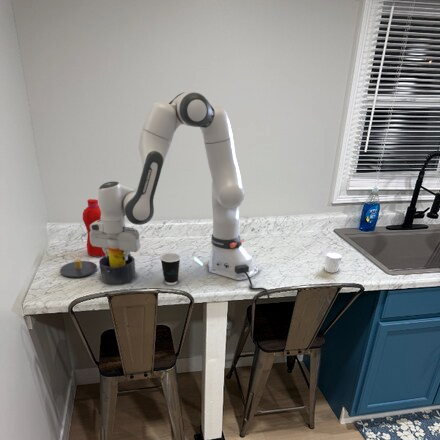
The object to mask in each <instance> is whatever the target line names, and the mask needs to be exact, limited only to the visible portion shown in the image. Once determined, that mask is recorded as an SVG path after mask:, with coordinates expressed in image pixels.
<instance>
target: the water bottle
mask: <svg viewBox="0 0 440 440" xmlns="http://www.w3.org/2000/svg"><path fill="white" fill-rule="evenodd" d="M86 201H87V207H85V209H83V212H82V221H83V224H84V225H85V229H86V231H87V236H86V237H87V238H86V252H87V255H89V256H91V257H101V258H103V257H105V256H106V254H105V253H104V251H103V250H102V247H96V246H92V245H91V243H90V231H91V229H90V225H91V224H92V223H93V222H95V221H97V220H100V219H101V211H100V208H99V200H98V199H94V198H89V199H87V200H86ZM107 249H108V248H107Z"/></svg>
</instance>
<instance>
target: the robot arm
mask: <svg viewBox="0 0 440 440" xmlns="http://www.w3.org/2000/svg"><path fill="white" fill-rule="evenodd" d="M181 125H185V126H189V127H193V128H199V129H200V130H201V134H202V138H203V143H204V148H205V153H206V158H207V165H208V169H209V171H210V175H211V180H212V181H211V204H212V207H211V208H212V234H211V239H210V240H211V241H210V243H211V251H210V256H209V257H210V258H209V261H208V265H207V267H208V272H209V273H212V274H216V275H218V276H221V277H225V278H229V279H232V280H236V281H243V280H244V281H245V280H247V279H248V282H249V289H250V290H253V291H257V290H263V291H265V292H266V297H267V300H268V301H271V297H270V292H269V293H267V291H266V290H268V289H267V288H265V287H253V283H252V280H251V278H252V277H254V276H255V275H257V274H258V273H259V267H257V266H256V265H254V258H253V256H252V255H251V254H250V253H249V252H248V251H247V250H246V248H245V247H244V246H243V244H242V243H244V239H241V236H240V235H239V234H240V221H241V220H240V218H241V217H240V206H241V205H242V204H243V202H244V200H245V191H244V184H243V181H242V176H241V171H240V168H239V167H240V166H239V163H238V159H237V153H236V147H235V140H234V134H233V130H232V125H231V122H230V118H229V115H228V113H227V111H226V110H225V109H224V108H222V107H220V106H213V105H211V103H210V102H209V100H208V99H207V98H206V97H205V96H204V95H203V94H201V93H199V92H196V91H185V92H181V93H179V94H177V95H176V96H175V97H174V98H173V99H172V100H171V101H170V102H166V101H157V102H155V103H153V105H152V106H151V108H150V109H149V111H148V113H147V115H146V118H145V120H144V123H143V126H142V128H141V132H140V136H139V141H138V150H139V155H140V159H141V173H140V176H139V181H138V184H137V188H133V187H132V188H131V187H128V186H125V185H123V184H121V183H120V182H118V181H107V182H105V183H102V184H101V185H100V186H99V188H98V191H97V192H98V193H97V196H98V197H97V198H98V199H97V200H98V206H99V208H100V211H101V219H100V220H97V221H95V222H93V223H92V224H91V225H90V229H91V231H90V243H91V245H92V246H96V247H102V250H103V251H104V253H105V254H106V255H105V256H106V258H109V253H108V249H107V248H108V244H107V241H108V239H109V240H110V239H111V240H118V243H119V250H123V251H124V254H125V253H126V254H125V255H124V256H122V258H123V260H126V261H127V260H128V254H129V253H137V252H139V250H140V249H141V240H140V233H139V231H138V230H137V229H136V228H134V227H128V226H126V219H127V220H128V221H129V222H130V223H131V224H134V225H138V226H142V225H146V224H148V223H149V222H150V221H151V220H152V219H153V217H154V213H155V207H154V206H155V205H154V198H155V195H156V190H157V188H158V183H159V180H160V176H161V173H162V169H163V166H164V163H165V160H166V158H167V155H168V153H169V151H170V147H171V145H172V141H173V139H174V136H175V133H176V131H177V129H178V128H179V127H180V126H181ZM125 216H126V218H125ZM194 261H196V262H197V263H198V264H199V265H200V266H203V262H201V261H200V259H198V258H197V257H194Z"/></svg>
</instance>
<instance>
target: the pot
mask: <svg viewBox="0 0 440 440" xmlns="http://www.w3.org/2000/svg"><path fill="white" fill-rule="evenodd" d="M124 254H126V253H124ZM98 262H99V263H98V264H99V271H100V279H101V281H102V282H103V283H104V284H107V285H112V286H113V285H114V286H120V285H125V284H129V283H131V282H133V281H134V280H135V279H136V277H137V272H136V261H135V257H134V256H132V252H129V254H128V260H127V261H126V260H125V266H121V267H110V262H109V258H106V255H105V256H102V257H101V258H100V259H99V261H98Z"/></svg>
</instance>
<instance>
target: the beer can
mask: <svg viewBox="0 0 440 440" xmlns="http://www.w3.org/2000/svg"><path fill="white" fill-rule="evenodd" d="M107 244H108V253H109V262H110V267H121V266H125V260H123V258H122V256H124V255H125V253H124V251H123V250H119V243H118V240H111V239H110V240H109V239H108V241H107Z"/></svg>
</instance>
